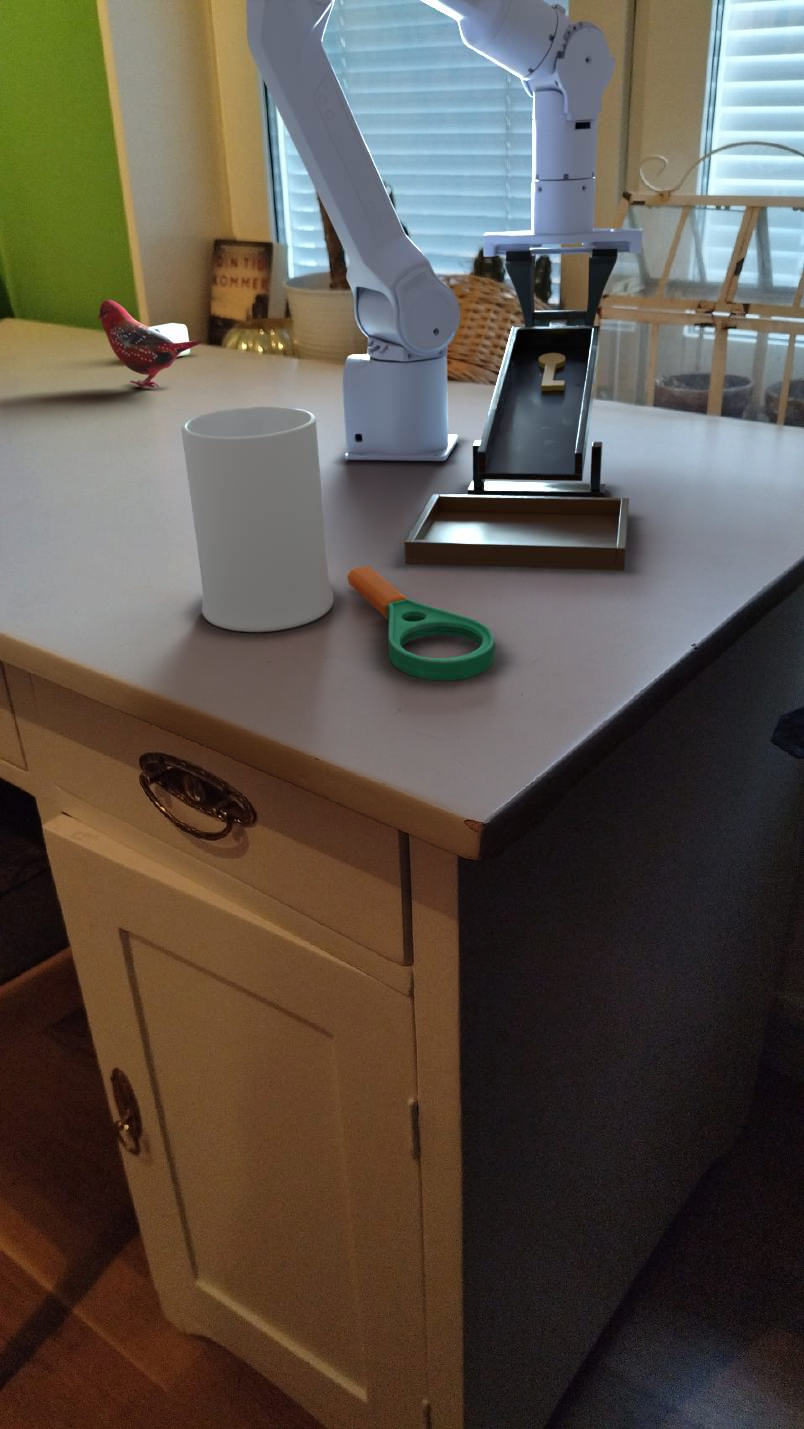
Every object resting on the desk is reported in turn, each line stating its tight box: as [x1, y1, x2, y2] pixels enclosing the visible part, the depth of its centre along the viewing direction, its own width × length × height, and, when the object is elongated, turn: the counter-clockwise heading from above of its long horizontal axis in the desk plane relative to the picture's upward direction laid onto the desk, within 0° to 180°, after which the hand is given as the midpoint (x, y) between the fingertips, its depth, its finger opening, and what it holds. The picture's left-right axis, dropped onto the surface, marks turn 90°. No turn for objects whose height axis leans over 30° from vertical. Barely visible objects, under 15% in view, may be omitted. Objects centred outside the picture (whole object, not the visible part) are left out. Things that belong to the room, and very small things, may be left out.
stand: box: [467, 440, 607, 498], centre depth 90 cm, size 11×2×4 cm, turn 79°
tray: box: [404, 493, 630, 571], centre depth 81 cm, size 15×11×2 cm
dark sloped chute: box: [478, 309, 601, 482], centre depth 95 cm, size 8×30×2 cm, turn 169°
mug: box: [181, 406, 335, 633], centre depth 70 cm, size 12×8×12 cm
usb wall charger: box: [149, 322, 191, 358], centre depth 151 cm, size 4×7×4 cm, turn 136°
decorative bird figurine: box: [97, 299, 203, 388], centre depth 132 cm, size 3×18×10 cm, turn 54°
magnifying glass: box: [347, 565, 496, 682], centre depth 67 cm, size 15×6×2 cm, turn 25°
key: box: [539, 353, 565, 391], centre depth 97 cm, size 3×7×1 cm, turn 168°
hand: (559, 335), depth 106 cm, fingers closed on dark sloped chute, 5 cm apart
